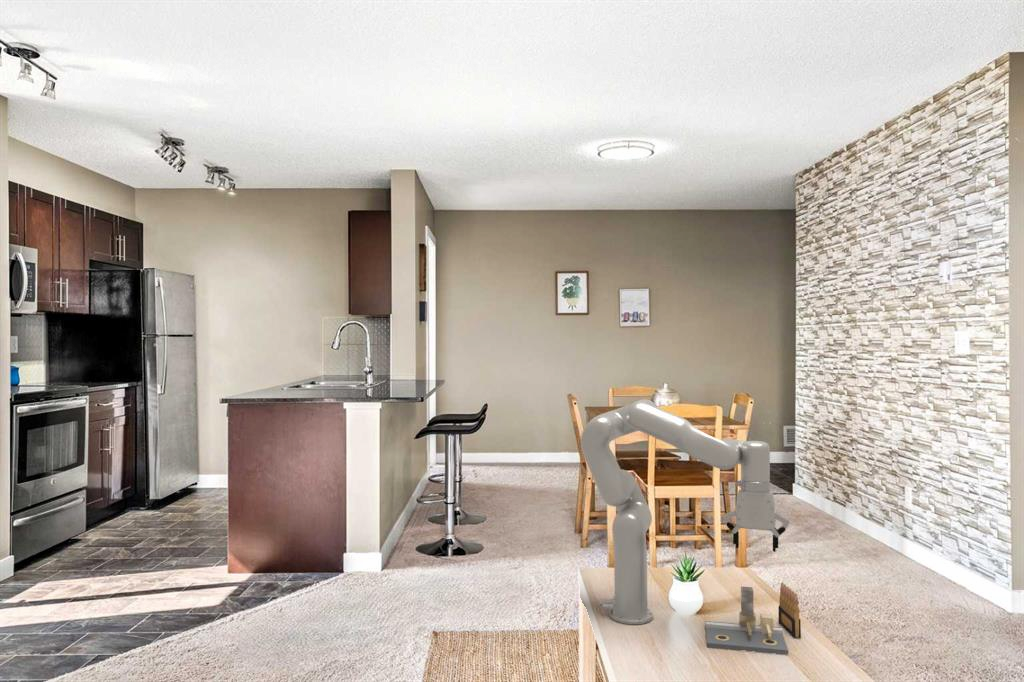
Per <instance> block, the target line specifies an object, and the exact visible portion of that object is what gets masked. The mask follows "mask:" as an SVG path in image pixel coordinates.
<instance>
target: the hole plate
mask: <svg viewBox="0 0 1024 682" xmlns="http://www.w3.org/2000/svg"><path fill="white" fill-rule="evenodd" d="M773 616H774V615H772V613H762V612H761V613H759V618H760V620H759V622H760V623H759V625H758V624H756V628H751V632H752V635H751V638H748V631H747V627H740V623H734V622H725V621H711V620H705V634H706V636H705V637H706V648H710V649H721V650H729V649H730V650H731V651H732V650H733V651H740V650H746V651H745V652H750V651H755V652H754V653H761V652H762V654H764V653H765V654H771V653H776V655H782V654H788V655H789V648H788V645H787V643H786V639H785V637H784V629H783V627H782V626H781V627H782V628H781V627H780V626H774V617H773Z"/></svg>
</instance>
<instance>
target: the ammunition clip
mask: <svg viewBox="0 0 1024 682" xmlns="http://www.w3.org/2000/svg"><path fill="white" fill-rule="evenodd" d="M779 590H780V591H779V605H778V617H777V618H778V620H777V622H778V625H780V626H781V627H782V629H783V630H785V631H786V632H787V633H788V635H790V636H791V637H792V638H793V639H802V632H801V631H802V630H801V629H802V626H801V618H800V607H799V597H798V594H797V592H795V591H794V590H792V589H791V588H790V587H789V585H788V586H787V585H786V584H785V583H784V582H783V581H782V582H781V583H780V589H779Z"/></svg>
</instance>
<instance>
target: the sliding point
mask: <svg viewBox="0 0 1024 682" xmlns="http://www.w3.org/2000/svg"><path fill="white" fill-rule="evenodd" d="M754 605H755V604H754V589H753V587H751V586H740V609H741V610H740V611H739V613H738V615H739V618H738V620H739V621H738V622H739V623H738V624H740V627H747V631H748V638H751V635H752V632H751V628H756V625H757V624H756V618H757V617H756V613H755V612H754V610H755V609H754Z"/></svg>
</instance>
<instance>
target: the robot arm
mask: <svg viewBox="0 0 1024 682" xmlns="http://www.w3.org/2000/svg"><path fill="white" fill-rule="evenodd" d="M635 432H641V433H643V434H646V435H648V436H651V437H652V438H654V439H657V440H660V441H661V442H664V443H666V444H668V445H669V446H672V447H675V449H677V450H678V451H681V452H683V453H684V454H687V455H688V456H690V457H691V458H694V459H695V460H698V461H700V462H702V463H705V464H707V465H709V466H711V467H713V468H715V469H719V470H724V471H725V470H726V471H727V470H728V471H729V470H731V469H733V468H735V467H736V466H737V465H740V479H739V480H736V481H735V486H736V487H739V488H740V489H739V490H738V491H737V496H736V505H735V506H736V507H735V510H732V511H729V512H728V513H725V514H723V515H722V520H723V522H724V523H725V526H726V527H727V528H728V529H729V530H730V532H731V533H732V545H735V549H739V546H740V542H739V541H740V537H739V536H740V535H739V533H740V532H739V530H740V529H747V530H757V531H759V530H760V531H770V532H771V533H772V534H773V535H772V552H773V553H775V552H777V551H776V549H779V538H780V536H781V535H782V534H783V533H785V532H786V531H787V528H788V526H789V525H790V520H789V519H787V518H785V517H783V516H782V515H779V513H777V512H776V505H775V496H774V494H773V491H771V448H770V445H769V443H767V442H765V441H762V440H761V441H760V440H739V439H734V438H729V437H728V438H727V437H726V438H721V439H718V438H716V437H713V436H711V435H709V434H707V433H705V432H703V431H701V430H699V428H696V426H694V425H693V424H692V423H691V422H690V421H689V420H687V419H686V418H684V417H682V416H680V415H677V414H674V413H672V412H670V411H667V410H666V409H662V408H661V407H658V405H657V404H656V403H655V402H654V401H652V400H651V399H650V400H649V399H640V400H636V401H635V402H633V403H630V404H628V405H624V406H622V407H619V408H616V409H613V410H610V411H607V412H604V413H601V414H598V415H596V416H595V417H593V418H592V419H590V421H589V422H587V423H586V425H585V426H584V428H583V431H582V433H581V437H580V449H581V452H582V456H583V457H584V459H585V462H586V465H587V467H588V468H589V471H590V474H591V476H592V479H593V481H594V483H595V485H596V487H597V490H598V492H599V495H600V496H601V499H602V500H603V502H604V503H605V504H606V505H608V506H610V507H615V508H616V510H617V511H616V512H617V513H616V515H615V517H614V518H613V521H612V526H611V527H612V528H611V531H612V533H611V534H612V540H613V541H612V542H613V563H614V565H613V566H614V568H613V569H614V571H613V572H614V574H613V575H614V578H613V579H614V597H613V598H611V599H605V598H600V599H599V607H602V609H606V610H607V609H609V611H608V613H609V617H610V619H612V620H613V621H614V622H615V621H616V622H618V623H621V624H626V625H643V624H646V623H647V624H648V623H649V622H651V621H652V620H653V619H654V614H653V613H654V612H653V611H652V610H651V609H649V608H648V552H647V551H648V550H647V539H646V537H647V536H646V535H647V532H648V530H649V528H650V527H651V525H652V521H653V519H652V517H653V516H652V513H651V509H650V507H649V505H648V502H647V501H646V499H645V496H644V494H643V492H642V490H641V488H640V487H641V486H640V485H639V483H638V481H637V479H636V478H635V477H634V476H633V474H632V473H631V472H629V471H628V470H625V469H621V467H620V465H619V463H618V460H617V458H616V457H615V454H614V452H612V451H613V450H611V447H610V443H611V442H612V441H615V440H616V439H619V438H622V437H623V436H626V435H630V434H633V433H635ZM734 517H735V524H733V523H732V522H731V521H730V519H732V518H734ZM776 521H779V522H780V523H782V525H781V526H780V527H779V528H778V529H777V527H776Z"/></svg>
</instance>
